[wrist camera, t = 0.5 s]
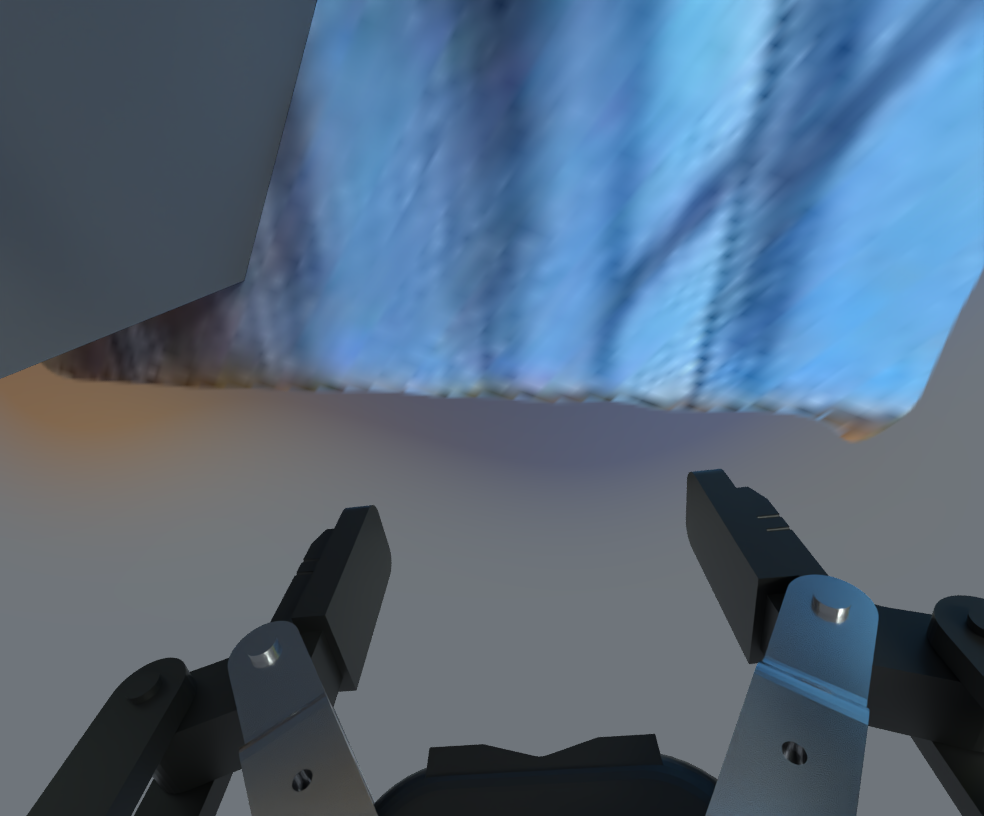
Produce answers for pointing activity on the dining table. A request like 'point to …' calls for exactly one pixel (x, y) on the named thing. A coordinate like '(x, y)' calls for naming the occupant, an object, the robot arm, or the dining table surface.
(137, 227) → the blue-grey rectangular block
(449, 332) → the dining table surface
